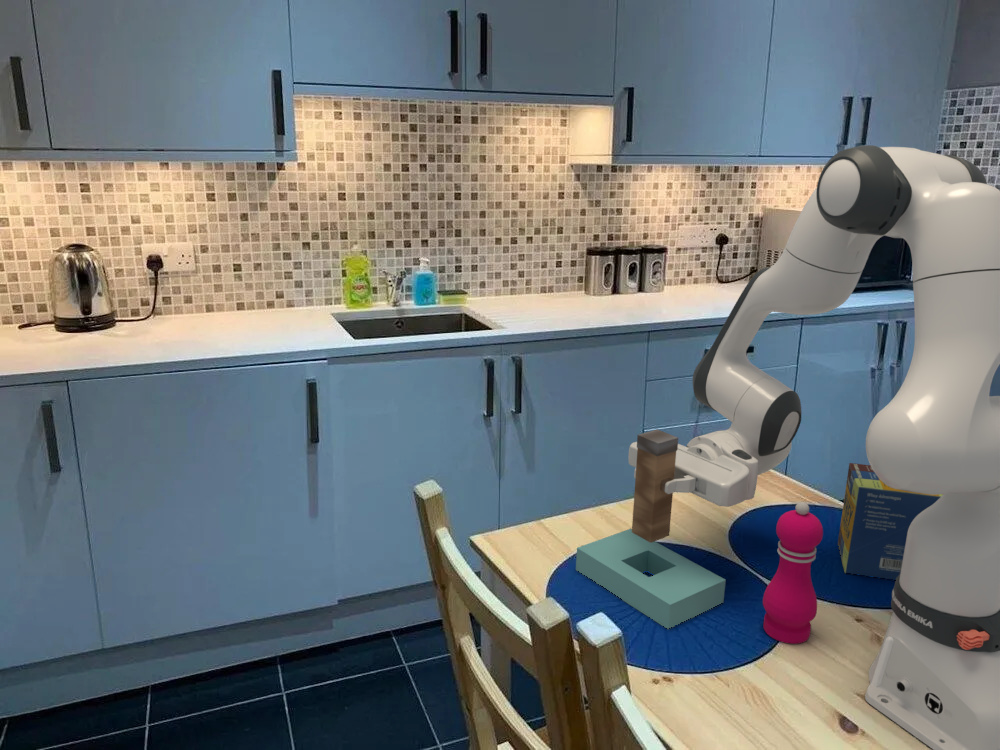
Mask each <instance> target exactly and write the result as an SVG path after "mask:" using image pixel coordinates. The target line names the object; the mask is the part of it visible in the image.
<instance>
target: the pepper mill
mask: <svg viewBox="0 0 1000 750" xmlns="http://www.w3.org/2000/svg"><path fill="white" fill-rule="evenodd" d="M775 528H776V529H775V532H776V535H777V537H778V539H779V541H778V543H777V546H778V548H777V550H776V551H777V553H778V556H779V563H778V567H777V570H776V572H775V574H774V575H773V577H772V578H771V580H770V581H769V583H768V584H767V586H766V588H765V591H764V593H763V597H762V606H763V608H764V610H765V614H764V616H763V617H764V618H763V629H764V632H765V633H766V634H767V635H768V636H769V637H771V638H772V639H774V640H776V641H778V642H780V643H785V644H791V645H793V644H794V645H795V644H796V645H797V644H802V643H804V642H806V641H808V640H809V638H810V636H811V629H812V628H811V627H812V625H811V621H813V620H814V619H815V617H816V616H817V613H818V600H817V594H816V591H815V589H814V586H813V582H812V575H811V569H812V568H811V565H812V563H813V562H814V561H815V560H816V557H817V555H816V554H817V546H818V545H819V544H820V543H821V541H822V540H823V536H824V528H823V525H822V523H821V520H820V519H819V518H818V517H817V516H816V515H814V513H811V512H810V506H809V505H808V503H806V502H805V501H800V502H797V504H796V505H795V509H793V510H789V511H786V512H783V514H781V515H780V516H779V518H778V520H777V523H776V527H775Z"/></svg>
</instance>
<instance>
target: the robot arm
mask: <svg viewBox="0 0 1000 750" xmlns="http://www.w3.org/2000/svg"><path fill="white" fill-rule="evenodd" d="M884 236H885V237H890V238H893V239H903V240H905V242H906V243H907V245H908V246H909V249H910V254H911V262H912V263H911V265H912V266H911V269H912V287H913V289H912V290H913V306H914V346H913V353H912V358H911V361H910V365H909V368H908V371H907V372H906V376H905V378H904V380H903V382H902V384H901V386H900V388H899V389H898V391H897V393H895V396H894V397H893V398H892V399H891V400H890V402H889V403H887V405H885V407H883V408H882V409H881V410H880V411H878V412H877V413H876V414H875V416H874V417H873V419H872V420H871V421H870V424H869V427H868V429H867V432H866V435H865V437H866V438H865V451H866V457H867V460H868V462H869V465H871V467H872V469H873V471H874V472H875V474H876V475H877V476H878V478H879V479H880V480H881V481H882V482H883V483H884V484H886V485H887V486H889V487H891V488H894V489H899V490H904V491H910V492H916V493H923V494H931V495H937V494H943V495H942V496H941V497H940V498H939V499H938V500H937V501H936V502H935V503H934V504H932V505H931V506H930V507H928V508H926V509H925V510H923V511H922V512H921V513H919V514H918V515H917V516H916V517H915V518H914V520H913V521H912V522H911V524H910V526H909V529H908V533H907V538H906V544H905V550H904V555H903V561H902V567H901V573H900V575H898V576H897V578H896V581H895V582H894V586H893V589H892V591H891V601H890V607H891V610H892V613H891V617H890V621H889V623H888V627H887V629H886V633H885V634H884V638H883V641H882V643H881V646H880V649H879V651H878V653H877V655H876V657H875V659H874V660H873V662H872V664H871V665H870V667H869V669H868V679H869V685H868V687H867V688H866V690H865V695H864V698H865V701H866V702H867V703H868V704H870V705H871V706H872V707H873V708H875V709H876V710H878V712H881V713H882V714H883V715H884V716H886V717H887V718H888V719H890V720H892V722H894V723H896V724H897V725H898V726H900V727H901V728H903V729H904V730H906V731H907V732H908V733H909V734H911V735H913V736H914V737H915V738H917V739H918V740H920V741H921V742H922V743H924V744H925V745H927V747H930V749H931V750H1000V395H992V396H990V392H991V386H992V382H993V379H994V376H995V374H996V371H997V370H998V367H999V366H1000V189H998V188H997V187H995V186H993V185H990V184H988V183H987V179H986V176H985V174H984V173H983V172H982V170H981V169H980V168H979V167H978V166H976V164H974V163H972V162H971V161H969V160H967V159H965V158H961V157H959V156H957V155H953V154H940V153H935V152H930V151H926V150H921V149H919V148H915V147H907V146H906V147H904V146H876V145H871V144H869V145H868V144H866V145H858V146H854V147H853V146H852V147H849V148H846V149H843V150H841V151H838V152H837V153H836V154H834V155H833V156H832V157H831V158H830V159H829V160H828V161H827V162H826V164H825V165H824V166H823V169H821V172H820V174H819V177H818V180H817V185H816V188H815V189H814V190H813V192H812V194H810V197H808V200H807V201H806V203H805V204H804V206H803V207H802V210H801V211H800V213H799V215H798V217H797V219H796V221H795V224H794V225H793V228H792V230H791V231H790V234H789V237H788V239H787V242H786V244H785V246H784V249H783V251H782V253H781V255H780V257H779V258H778V259H777V260H776V262H775V263H774V264H773V265H772V266H770V267H764V268H762V269H760V270H759V271H757V272H756V273H755V274H754V275H753V276H752V277H751V278H750V280H749V281H748V283H747V284H746V286H745V287H744V288H743V290H742V292H741V294H740V295H739V296H738V298H737V301H736V302H735V304H734V306H733V307H732V309H731V311H730V313H729V314H728V316H727V318H726V320H725V322H724V323H723V325H722V327H721V329H720V330H719V333H718V334H717V336H716V338H715V340H714V341H713V344H712V345H711V346H710V348H709V349H708V351H707V352H706V353H705V354H704V356H703V357H702V358H701V359H700V361H699V362H698V364H697V365H696V366H695V369H694V371H693V372H692V373H693V374H692V389H693V393H694V397H695V399H696V400H697V401H698V402H700V403H701V404H703V405H705V406H707V407H708V408H710V409H712V410H713V411H715V412H717V413H719V414H720V415H722V417H724V418H726V419H727V420H728V421H730V422H731V424H730V427H729V428H727V429H725V430H724V429H722V430H716V431H712V432H708V433H706V434H702V435H699V436H696V437H694V438H692V439H690V441H689V442H687V444H686V446H685V445H683V444H680V443H678V449H677V451H676V461H675V472H674V479H671V478H667V479H663V480H662V481H661V484H660V485H661V487H660V490H661V491H663V492H665V493H667V494H671V493H673V494H674V493H684V494H685V493H686V494H689V493H690V494H693V495H695V496H697V497H699V498H701V499H703V500H705V501H707V502H710V503H712V504H714V505H716V506H719V507H726V508H729V507H733V506H736V505H738V504H741V503H743V502H744V501H749V500H752V499H754V498H755V494H756V489H757V484H758V476H759V475H762V474H765V473H767V472H768V471H771V470H773V469H774V468H776V467H778V465H780V464H781V463H782V462H784V461H785V459H787V458H788V456H789V454H790V451H791V450H792V443H793V440H794V439H795V437H796V435H797V433H798V430H799V428H800V426H801V423H802V404H801V399H800V396H799V394H798V393H797V391H794V390H793V389H792V388H791V387H788V386H787V385H786V384H785V383H783V382H781V381H780V380H779V379H777V378H776V377H773V376H772V375H770V374H769V373H766V372H765V371H764V370H762V369H761V368H759V367H757V366H756V365H754V364H753V363H751V361H750V360H749V358H748V356H747V351H748V349H749V346H751V343H752V342H753V340H754V338H755V336H756V334H757V333H758V331H759V330H760V328H761V326H762V325H763V323H764V321H765V319H767V317H769V315H770V314H771V313H773V312H774V313H782V314H783V313H784V314H790V315H797V316H798V315H799V316H805V315H807V316H812V315H819V314H825V313H828V312H830V311H833V310H835V309H837V308H839V307H840V306H842V305H844V304H845V302H847V300H848V299H849V298H850V296H851V295H852V294H853V292H854V290H855V289H856V287H857V284H858V283H859V280H860V278H861V275H862V273H863V270H864V269H865V266H866V263H867V261H868V260H869V256H870V254H871V251H872V249H873V247H874V246H875V244H876V242H877V241H878V240H880V238H882V237H884ZM637 449H638V448H637V441H635V442H632V443H630V445H629V449H628V464H629V466H632V467H634V468H635V469H634V472H633V478H634V479H635V478H636V464H637Z"/></svg>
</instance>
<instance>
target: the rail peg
mask: <svg viewBox="0 0 1000 750" xmlns="http://www.w3.org/2000/svg"><path fill="white" fill-rule="evenodd" d="M636 442H637V448H638V449H637V464H636V467H635V468H636V478H634V480H635V482H634V493H633V495H634V496H633V508H632V510H633V511H632V521H631V523H632V525H631V529H632V533H634V534H636V535H638V536H639V537H641V538H643V539H645V540H647V541H648V542H650V543H651V542H654V541H655V542H656V541H659V540H662V539H665V538H666V537H667V538H668V537H670V531H671V530H670V529H671V521H672V519H671V517H672V508H673V507H672V506H673V497H674V496H673V494H674V493H671V494H667V493H665V492H663V491H661V490H660V487H661V485H660V484H661V481H662V480H663V479H667V478H671V479H674V472H675V461H676V451H677V449H678V444H679V437H678V436H675V435H672V434H670V433H667V432H664V431H662V430H660V429H655V430H654V429H653V430H651V431H647V432H643V433H639V434H637V439H636Z"/></svg>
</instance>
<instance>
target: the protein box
mask: <svg viewBox="0 0 1000 750" xmlns="http://www.w3.org/2000/svg"><path fill="white" fill-rule="evenodd" d="M846 479H847V480H846V484H845V489H844V490H845V492H844V499H843V505H842V514H841V518H840V526H839V533H838V539H837V547H838V546H839V547H838V550H840V551H839V555H841V556H840V559H841V563H842V567H843V571H844V574H846V573H851V574H850V575H853V574H859V575H865V576H864V577H866V576H873V577H880V578H886V579H885V580H887V579H893V580H892V581H894V579H895V580H896V578H897V576H898V575H900V573H901V567H902V561H903V555H904V550H905V544H906V538H907V533H908V529H909V526H910V524H911V522H912V521H913V520H914V518H915V517H916V516H917V515H918V514H919V513H921V512H922V511H923V510H925V509H926V508H928V507H930V506H931V505H932V504H934V503H935V502H936V501H937V500H938V499H939V498H940V497H941V496H942V495H943V494H937V495H931V494H923V493H916V492H910V491H904V490H899V489H894V488H891V487H889V486H887V485H886V484H884V483H883V482H882V481H881V480H880V479H879V478H878V476H877V475H876V474H875V472H874V471H873V469H872V467H871V465H870V464H862V463H854V462H853V463H852V462H849V463H848V470H847V477H846ZM859 575H858V576H859ZM873 577H872V578H873ZM880 578H879V579H880Z"/></svg>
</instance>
